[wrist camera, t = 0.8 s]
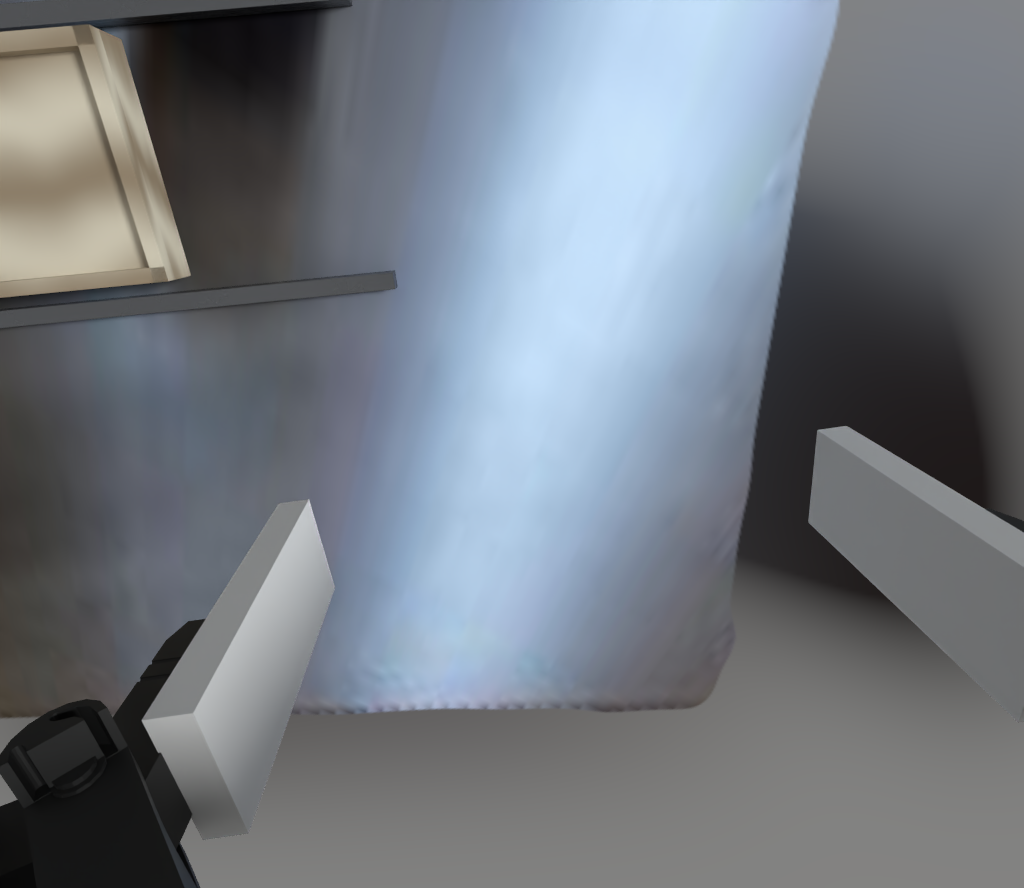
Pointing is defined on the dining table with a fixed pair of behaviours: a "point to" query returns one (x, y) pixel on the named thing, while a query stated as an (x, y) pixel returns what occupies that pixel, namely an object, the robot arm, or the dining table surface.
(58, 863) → the robot arm
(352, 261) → the dining table surface
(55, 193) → the wooden tray
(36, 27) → the track
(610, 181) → the dining table surface
